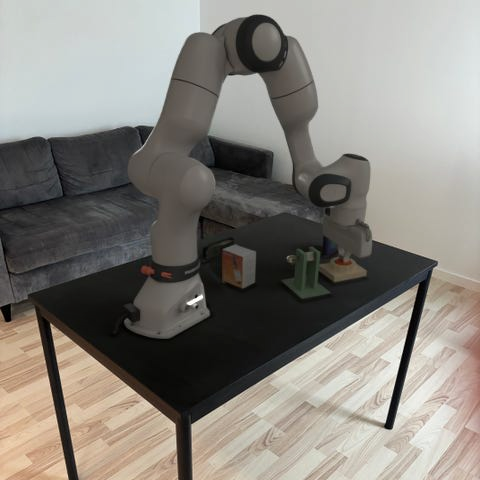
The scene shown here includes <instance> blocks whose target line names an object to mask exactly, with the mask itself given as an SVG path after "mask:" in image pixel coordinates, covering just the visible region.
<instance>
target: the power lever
mask: <svg viewBox="0 0 480 480" xmlns="http://www.w3.org/2000/svg"><path fill="white" fill-rule="evenodd" d="M305 253H306V254H307V263H308V261H313V260H314V254H313V251H312V252H309V251H307V252H305ZM295 261H296V255H293V254H289V255H288V256H287V257H286V259H285V263H286V265H287V266H289V267H295Z"/></svg>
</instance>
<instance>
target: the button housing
mask: <svg viewBox="0 0 480 480" xmlns="http://www.w3.org/2000/svg"><path fill="white" fill-rule="evenodd" d="M336 259H338V256H337V257H333V258H331V259H329V260H330V261H329V262H327V263H319V272H320V273H321V274H323V275H324V276H325V277H327V278H328V279H329V280H330V281H332V282H333V283H337V282H341V281H347V280H353V279H357V278H362V277H363V278H364V277H367V273H368V270H366V269H365V268H364V267H363V266H361V265H359V264H357V262H356V260H354V259H353V258H351V257H349V260H350V261H351V264H350V265H346V266H345V265H338V264H336V263H335V262H336Z"/></svg>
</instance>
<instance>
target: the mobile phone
mask: <svg viewBox="0 0 480 480" xmlns="http://www.w3.org/2000/svg"><path fill="white" fill-rule="evenodd" d="M232 245H235V238H234V237H233V236H227V237H224V238H220V239H217V240H214V241H211V242H207V243H206V244H205V245H204V246H203V247H202V258H203V259H204V260H202V263H203V264H204V263H206V262H207V260H209V259H212V258H215V257H218V256H222V249H225V248H227V247H230V246H232Z"/></svg>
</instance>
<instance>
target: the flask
mask: <svg viewBox="0 0 480 480" xmlns="http://www.w3.org/2000/svg"><path fill="white" fill-rule="evenodd" d="M321 247H322V248H321V254H322V255H323V256H328V255H331V254H332V255H334V254H335V253H336V252H338V249H337V244H336V243H335V242H333V241H331V240H330V239H328V238H327V237H325V236H324V235H323V234H322V246H321Z"/></svg>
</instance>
